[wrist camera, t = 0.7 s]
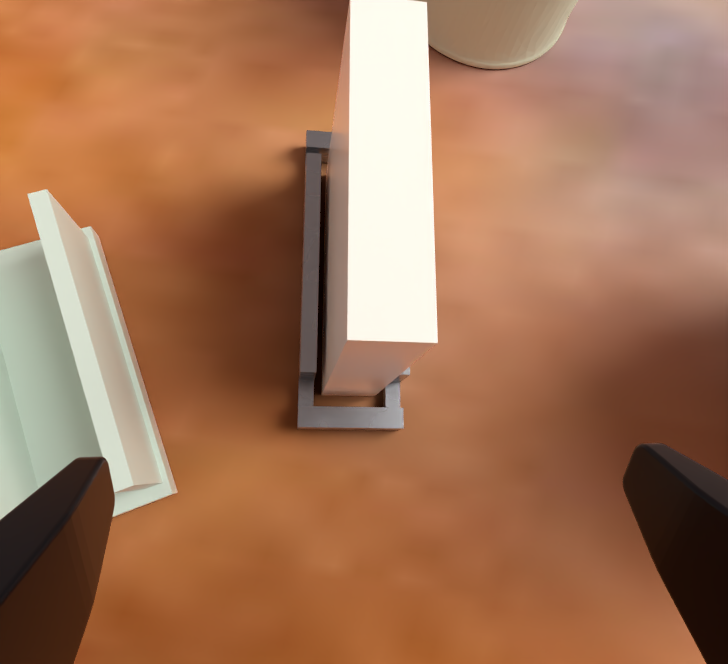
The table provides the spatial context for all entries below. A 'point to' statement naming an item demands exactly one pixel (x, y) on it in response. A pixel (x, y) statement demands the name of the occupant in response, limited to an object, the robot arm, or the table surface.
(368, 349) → the white block
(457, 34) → the can
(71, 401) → the dish rack
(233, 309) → the table surface
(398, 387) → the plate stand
